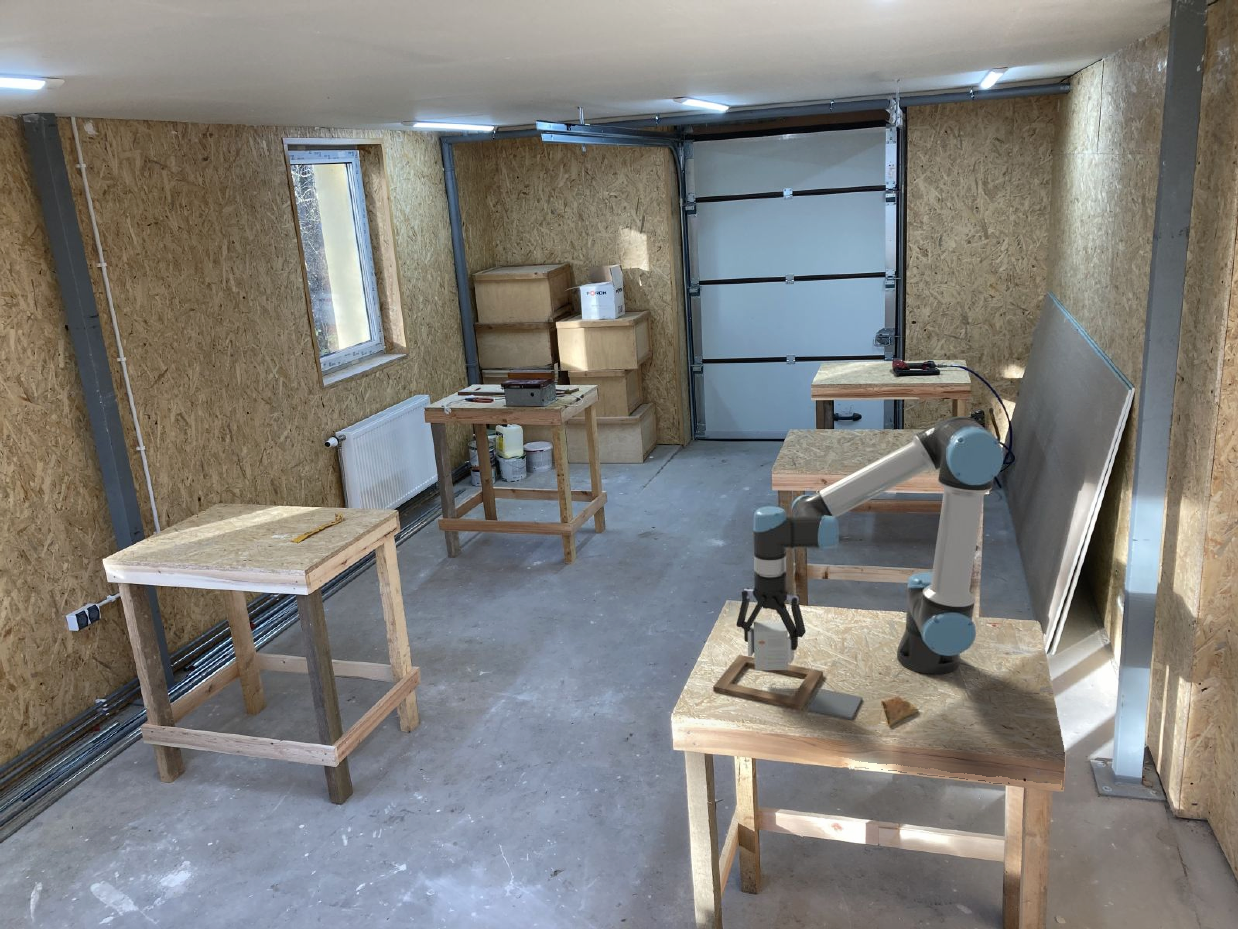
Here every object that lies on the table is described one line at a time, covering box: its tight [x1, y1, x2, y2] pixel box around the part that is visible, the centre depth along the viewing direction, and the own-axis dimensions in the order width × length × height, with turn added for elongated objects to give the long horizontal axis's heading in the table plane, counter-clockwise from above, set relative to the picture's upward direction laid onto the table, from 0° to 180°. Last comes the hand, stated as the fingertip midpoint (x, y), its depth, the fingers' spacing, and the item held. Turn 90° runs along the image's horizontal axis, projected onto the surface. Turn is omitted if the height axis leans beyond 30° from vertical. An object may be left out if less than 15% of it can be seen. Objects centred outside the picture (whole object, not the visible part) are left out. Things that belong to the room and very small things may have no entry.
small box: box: [753, 620, 789, 671], centre depth 229 cm, size 8×6×10 cm
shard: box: [880, 695, 919, 728], centre depth 217 cm, size 11×8×2 cm
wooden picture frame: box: [712, 654, 824, 711], centre depth 232 cm, size 22×18×1 cm
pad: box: [808, 688, 863, 721], centre depth 221 cm, size 10×10×1 cm
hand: (770, 657), depth 230 cm, fingers closed on small box, 9 cm apart
